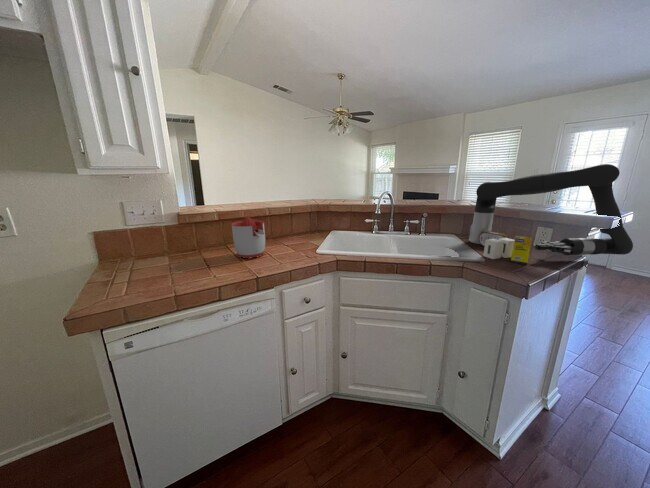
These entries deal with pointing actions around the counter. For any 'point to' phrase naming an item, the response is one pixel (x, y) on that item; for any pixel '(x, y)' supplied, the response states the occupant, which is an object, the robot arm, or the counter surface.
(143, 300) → the counter surface
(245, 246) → the citrus juicer
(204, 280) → the counter surface
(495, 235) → the tin
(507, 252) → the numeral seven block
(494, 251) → the numeral one block
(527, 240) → the supplement box
